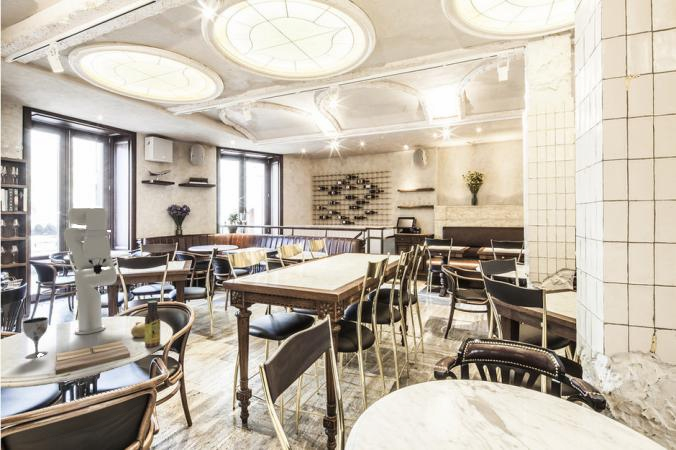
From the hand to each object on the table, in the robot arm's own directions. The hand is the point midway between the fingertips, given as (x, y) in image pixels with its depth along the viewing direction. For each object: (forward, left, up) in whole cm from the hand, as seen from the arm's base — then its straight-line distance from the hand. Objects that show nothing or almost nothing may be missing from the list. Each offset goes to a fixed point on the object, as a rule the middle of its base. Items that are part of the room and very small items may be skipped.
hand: (97, 273), depth 156 cm
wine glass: (0, -22, -32) cm, 39 cm away
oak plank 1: (+12, -10, -32) cm, 36 cm away
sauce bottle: (+20, +18, -32) cm, 42 cm away
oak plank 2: (+12, +2, -32) cm, 34 cm away
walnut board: (+23, -4, -32) cm, 39 cm away
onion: (+4, +16, -32) cm, 36 cm away
